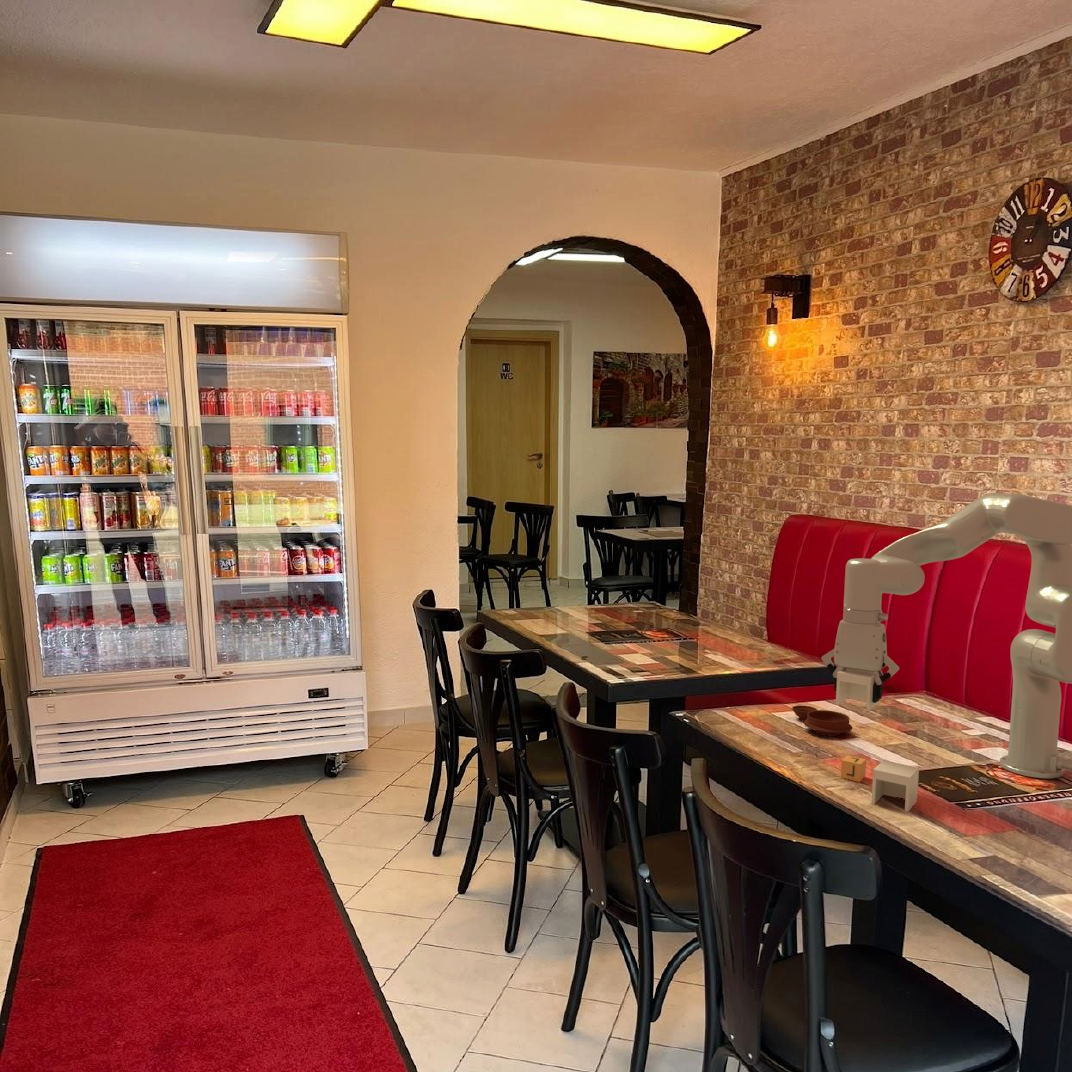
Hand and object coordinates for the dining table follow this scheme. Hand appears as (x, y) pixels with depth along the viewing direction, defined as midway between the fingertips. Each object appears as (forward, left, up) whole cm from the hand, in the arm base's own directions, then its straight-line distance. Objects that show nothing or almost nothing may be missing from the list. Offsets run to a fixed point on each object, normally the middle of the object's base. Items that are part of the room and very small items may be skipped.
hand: (857, 697), depth 193 cm
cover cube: (0, 0, -1) cm, 1 cm away
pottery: (+18, -31, -18) cm, 40 cm away
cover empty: (-11, +9, -18) cm, 23 cm away
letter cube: (0, 0, -18) cm, 18 cm away
